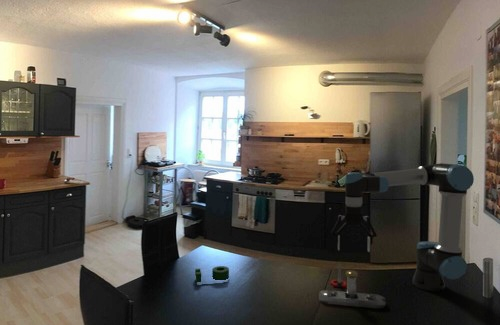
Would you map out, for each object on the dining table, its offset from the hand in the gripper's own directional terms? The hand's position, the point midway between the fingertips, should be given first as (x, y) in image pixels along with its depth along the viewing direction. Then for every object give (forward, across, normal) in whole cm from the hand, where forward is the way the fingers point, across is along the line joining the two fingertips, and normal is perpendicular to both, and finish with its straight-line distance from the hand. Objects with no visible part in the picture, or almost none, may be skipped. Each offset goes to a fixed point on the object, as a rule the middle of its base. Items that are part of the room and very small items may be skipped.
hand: (353, 250), depth 159 cm
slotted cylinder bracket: (+24, +73, -10) cm, 78 cm away
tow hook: (+25, +6, -19) cm, 32 cm away
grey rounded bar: (+24, +1, +1) cm, 25 cm away
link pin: (+25, +1, +1) cm, 25 cm away
